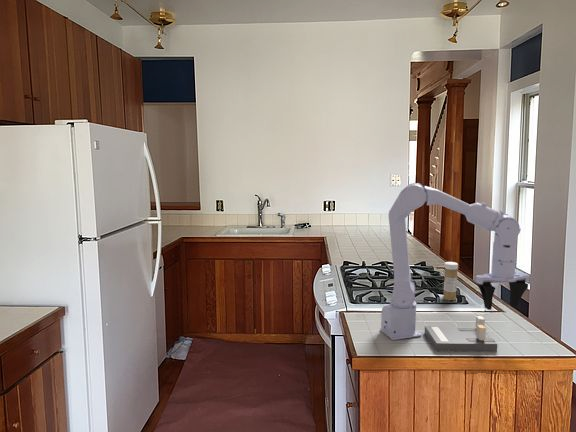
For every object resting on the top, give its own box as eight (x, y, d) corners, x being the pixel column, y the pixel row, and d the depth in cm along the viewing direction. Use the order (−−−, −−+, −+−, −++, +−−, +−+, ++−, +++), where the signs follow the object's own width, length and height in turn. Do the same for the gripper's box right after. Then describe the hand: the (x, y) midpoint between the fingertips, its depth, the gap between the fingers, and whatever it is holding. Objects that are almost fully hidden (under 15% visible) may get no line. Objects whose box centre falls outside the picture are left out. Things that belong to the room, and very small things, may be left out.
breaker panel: (436, 351, 119) (436, 343, 119) (424, 332, 131) (424, 325, 131) (496, 351, 119) (497, 343, 118) (479, 333, 130) (479, 325, 130)
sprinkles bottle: (446, 296, 164) (447, 260, 162) (458, 298, 161) (460, 262, 159) (440, 299, 161) (442, 263, 159) (453, 302, 157) (455, 265, 156)
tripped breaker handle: (479, 340, 120) (480, 328, 119) (476, 336, 122) (476, 324, 122) (485, 340, 120) (485, 328, 119) (481, 336, 122) (482, 324, 121)
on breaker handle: (478, 329, 126) (479, 319, 126) (475, 326, 129) (476, 316, 128) (484, 330, 126) (484, 319, 126) (480, 326, 129) (481, 316, 128)
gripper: (487, 264, 115) (484, 314, 117) (538, 262, 117) (534, 311, 119) (472, 257, 122) (470, 305, 124) (521, 255, 124) (517, 302, 126)
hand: (500, 307), depth 122 cm, fingers open, 7 cm apart
